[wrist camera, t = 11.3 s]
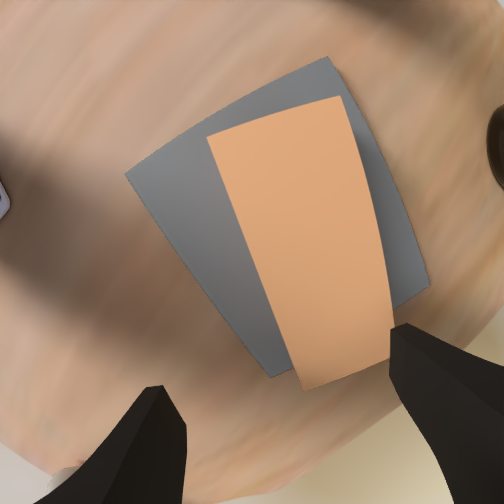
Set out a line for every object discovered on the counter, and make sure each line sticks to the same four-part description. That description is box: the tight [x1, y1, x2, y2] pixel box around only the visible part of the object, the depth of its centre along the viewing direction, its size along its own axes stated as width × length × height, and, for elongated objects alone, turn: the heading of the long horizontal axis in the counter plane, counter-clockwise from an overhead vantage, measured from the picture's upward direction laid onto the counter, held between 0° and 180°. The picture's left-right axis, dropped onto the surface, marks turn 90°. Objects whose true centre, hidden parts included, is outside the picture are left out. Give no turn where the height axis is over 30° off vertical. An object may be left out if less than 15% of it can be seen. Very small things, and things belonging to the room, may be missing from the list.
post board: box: [125, 56, 430, 378], centre depth 15 cm, size 15×12×4 cm
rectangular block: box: [206, 95, 395, 392], centre depth 14 cm, size 12×5×4 cm, turn 20°
